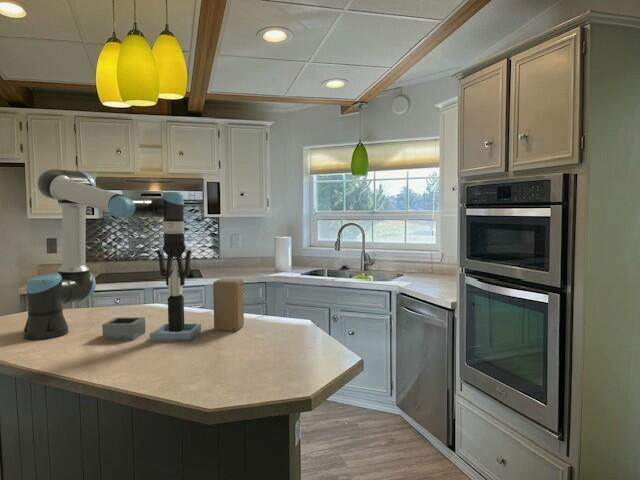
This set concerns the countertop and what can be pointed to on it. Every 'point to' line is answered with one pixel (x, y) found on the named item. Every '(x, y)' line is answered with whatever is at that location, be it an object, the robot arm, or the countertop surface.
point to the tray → (175, 333)
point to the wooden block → (228, 304)
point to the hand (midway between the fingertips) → (175, 294)
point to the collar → (123, 328)
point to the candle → (175, 306)
